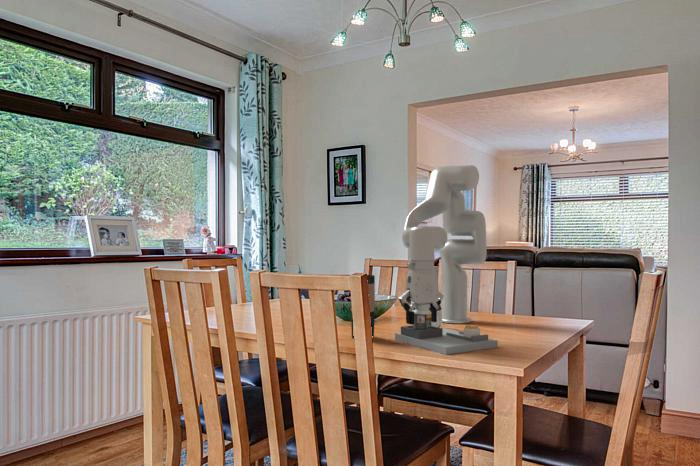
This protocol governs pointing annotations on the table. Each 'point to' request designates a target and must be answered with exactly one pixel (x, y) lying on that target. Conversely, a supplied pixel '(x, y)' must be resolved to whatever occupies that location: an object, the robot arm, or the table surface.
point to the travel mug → (371, 301)
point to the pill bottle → (422, 317)
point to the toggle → (471, 331)
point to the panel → (444, 340)
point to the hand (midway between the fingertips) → (421, 322)
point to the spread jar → (439, 317)
